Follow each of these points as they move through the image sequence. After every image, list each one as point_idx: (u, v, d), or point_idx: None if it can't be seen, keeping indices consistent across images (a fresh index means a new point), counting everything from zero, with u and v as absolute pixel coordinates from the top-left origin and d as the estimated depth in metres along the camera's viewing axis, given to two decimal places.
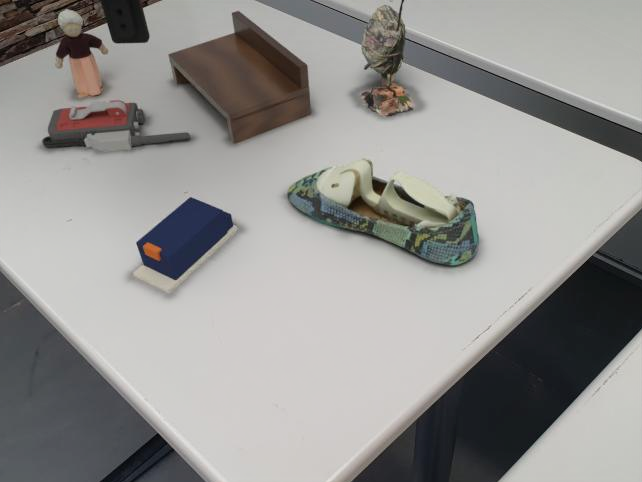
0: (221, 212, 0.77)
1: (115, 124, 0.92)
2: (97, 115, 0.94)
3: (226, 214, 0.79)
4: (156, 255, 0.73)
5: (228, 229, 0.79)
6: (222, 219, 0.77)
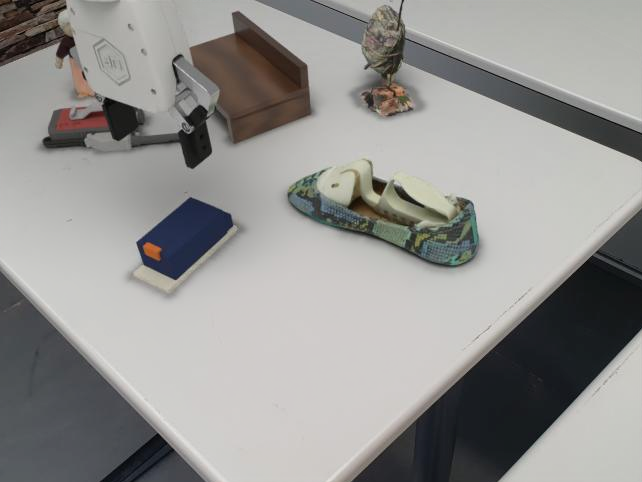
0: (221, 212, 0.77)
1: None
2: (97, 115, 0.94)
3: (226, 214, 0.79)
4: (156, 255, 0.73)
5: (228, 229, 0.79)
6: (222, 219, 0.77)
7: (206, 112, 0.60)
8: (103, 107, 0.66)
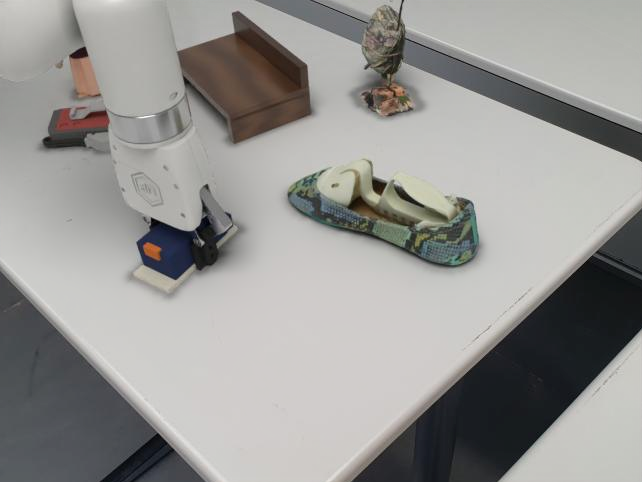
0: None
1: None
2: (97, 115, 0.94)
3: None
4: (156, 255, 0.73)
5: (228, 229, 0.79)
6: None
7: (215, 234, 0.72)
8: (150, 228, 0.76)
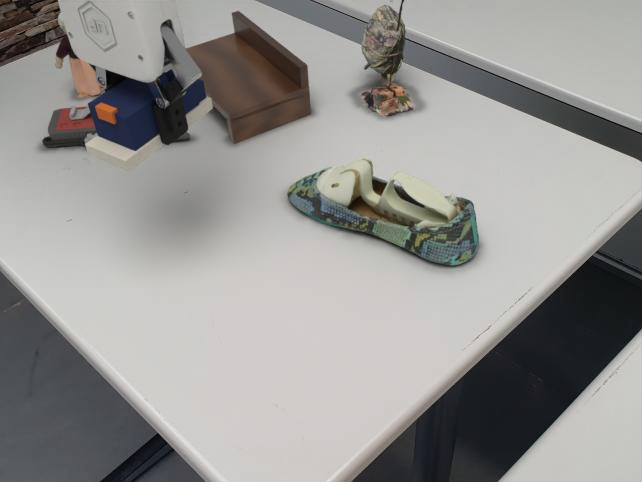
0: None
1: None
2: None
3: (198, 81, 0.66)
4: (111, 116, 0.60)
5: (200, 100, 0.67)
6: None
7: (181, 89, 0.59)
8: None
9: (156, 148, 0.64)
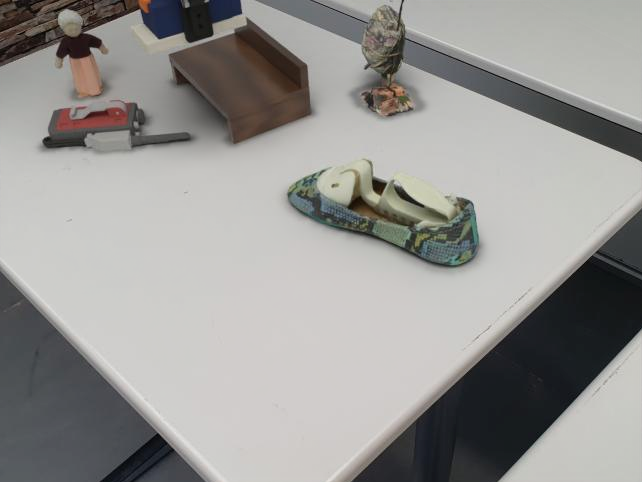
0: None
1: (115, 124, 0.93)
2: (97, 115, 0.94)
3: None
4: (144, 5, 0.74)
5: (235, 14, 0.78)
6: None
7: None
8: None
9: (180, 43, 0.77)
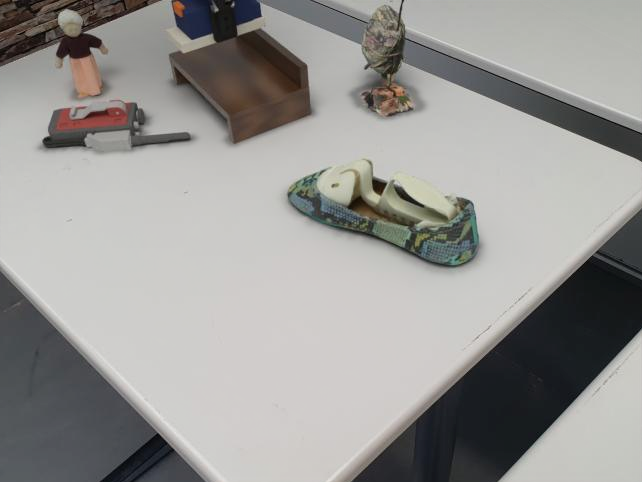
0: None
1: (115, 124, 0.93)
2: (97, 115, 0.94)
3: (256, 2, 0.90)
4: (179, 11, 0.86)
5: (255, 17, 0.91)
6: (248, 2, 0.89)
7: (224, 1, 0.83)
8: None
9: (209, 43, 0.89)
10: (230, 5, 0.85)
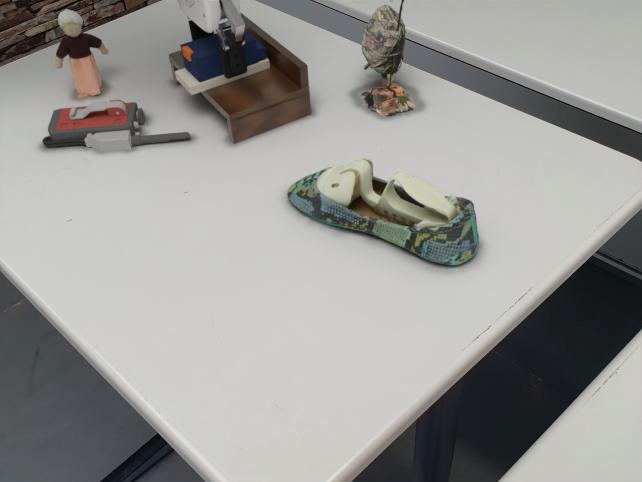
0: (253, 40, 0.92)
1: (115, 124, 0.93)
2: (97, 115, 0.94)
3: (261, 46, 0.94)
4: (188, 55, 0.91)
5: (260, 60, 0.95)
6: (254, 46, 0.93)
7: (235, 38, 0.85)
8: (189, 22, 0.94)
9: (216, 84, 0.93)
10: (241, 43, 0.87)
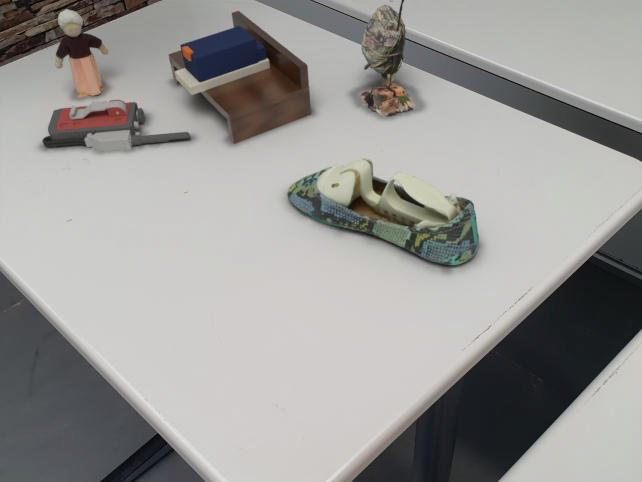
0: (253, 40, 0.92)
1: (115, 124, 0.93)
2: (97, 115, 0.94)
3: (261, 46, 0.94)
4: (188, 55, 0.91)
5: (260, 60, 0.95)
6: (254, 46, 0.93)
7: None
8: None
9: (216, 84, 0.93)
10: None
